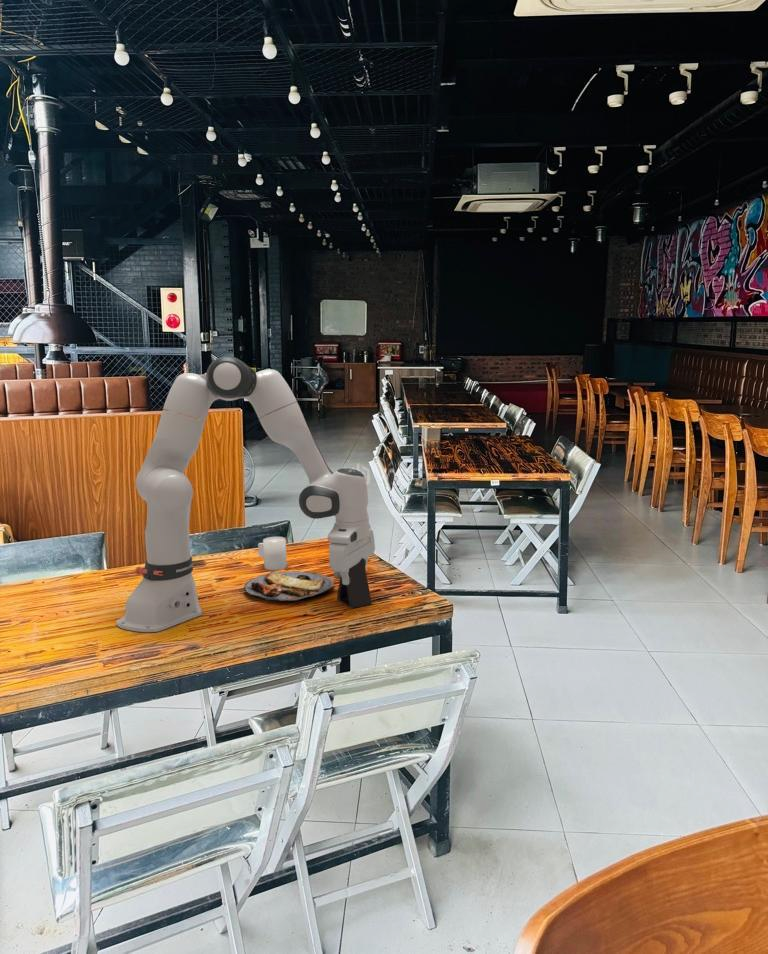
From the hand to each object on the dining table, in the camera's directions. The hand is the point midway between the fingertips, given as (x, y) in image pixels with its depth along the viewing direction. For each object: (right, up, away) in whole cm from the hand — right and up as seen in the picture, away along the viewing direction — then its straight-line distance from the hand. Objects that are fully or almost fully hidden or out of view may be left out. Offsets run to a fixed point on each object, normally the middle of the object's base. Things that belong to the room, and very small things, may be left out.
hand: (354, 578), depth 205 cm
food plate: (-19, -5, +12) cm, 23 cm away
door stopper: (0, -7, +1) cm, 7 cm away
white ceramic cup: (-27, -1, +35) cm, 44 cm away
